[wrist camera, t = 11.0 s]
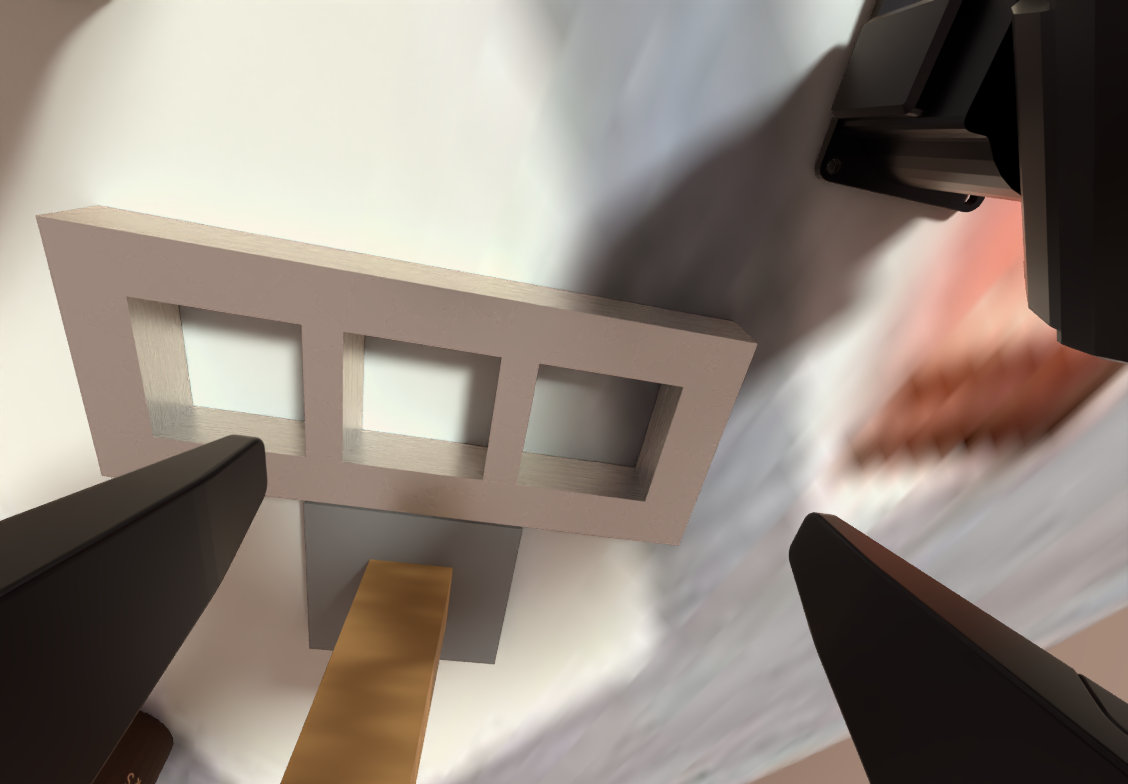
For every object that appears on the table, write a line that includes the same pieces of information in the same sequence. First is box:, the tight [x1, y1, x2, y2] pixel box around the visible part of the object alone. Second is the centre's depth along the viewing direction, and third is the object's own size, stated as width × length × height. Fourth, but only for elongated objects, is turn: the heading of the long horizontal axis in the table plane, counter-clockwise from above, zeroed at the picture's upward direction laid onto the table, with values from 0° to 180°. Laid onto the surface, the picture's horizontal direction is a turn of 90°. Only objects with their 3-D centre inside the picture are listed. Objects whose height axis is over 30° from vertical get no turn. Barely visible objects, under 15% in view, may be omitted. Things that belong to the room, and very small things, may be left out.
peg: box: [280, 559, 453, 784], centre depth 21 cm, size 4×4×10 cm
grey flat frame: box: [36, 206, 758, 546], centre depth 20 cm, size 24×10×2 cm, turn 79°
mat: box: [304, 500, 522, 664], centre depth 26 cm, size 10×10×1 cm
